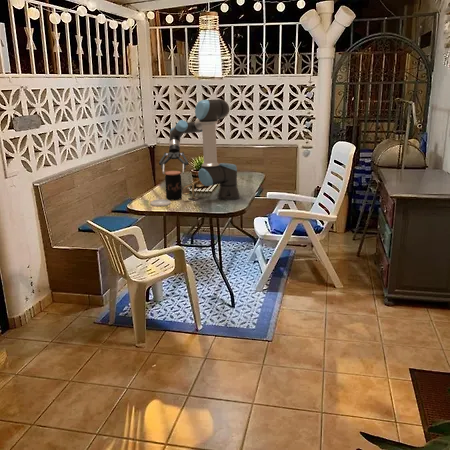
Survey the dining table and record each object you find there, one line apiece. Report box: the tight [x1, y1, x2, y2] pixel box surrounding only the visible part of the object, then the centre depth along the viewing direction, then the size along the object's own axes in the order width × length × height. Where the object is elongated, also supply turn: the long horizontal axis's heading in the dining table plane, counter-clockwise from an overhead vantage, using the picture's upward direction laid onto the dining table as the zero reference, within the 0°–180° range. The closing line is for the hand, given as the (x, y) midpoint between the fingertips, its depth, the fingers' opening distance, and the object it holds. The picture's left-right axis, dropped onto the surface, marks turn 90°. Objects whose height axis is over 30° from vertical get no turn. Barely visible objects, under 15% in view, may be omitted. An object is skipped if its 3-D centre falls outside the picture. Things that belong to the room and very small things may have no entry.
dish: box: [149, 198, 172, 208], centre depth 310 cm, size 13×13×2 cm
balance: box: [182, 178, 205, 202], centre depth 318 cm, size 6×17×13 cm, turn 133°
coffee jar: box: [164, 170, 183, 201], centre depth 321 cm, size 11×11×18 cm
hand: (173, 172), depth 326 cm, fingers open, 13 cm apart
